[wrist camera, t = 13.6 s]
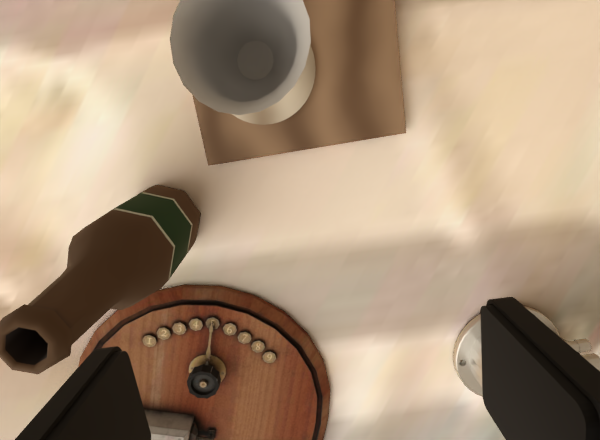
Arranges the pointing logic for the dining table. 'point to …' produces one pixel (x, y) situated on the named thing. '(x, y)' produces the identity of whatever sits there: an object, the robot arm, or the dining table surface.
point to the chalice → (240, 51)
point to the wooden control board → (220, 366)
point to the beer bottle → (102, 276)
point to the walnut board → (323, 89)
